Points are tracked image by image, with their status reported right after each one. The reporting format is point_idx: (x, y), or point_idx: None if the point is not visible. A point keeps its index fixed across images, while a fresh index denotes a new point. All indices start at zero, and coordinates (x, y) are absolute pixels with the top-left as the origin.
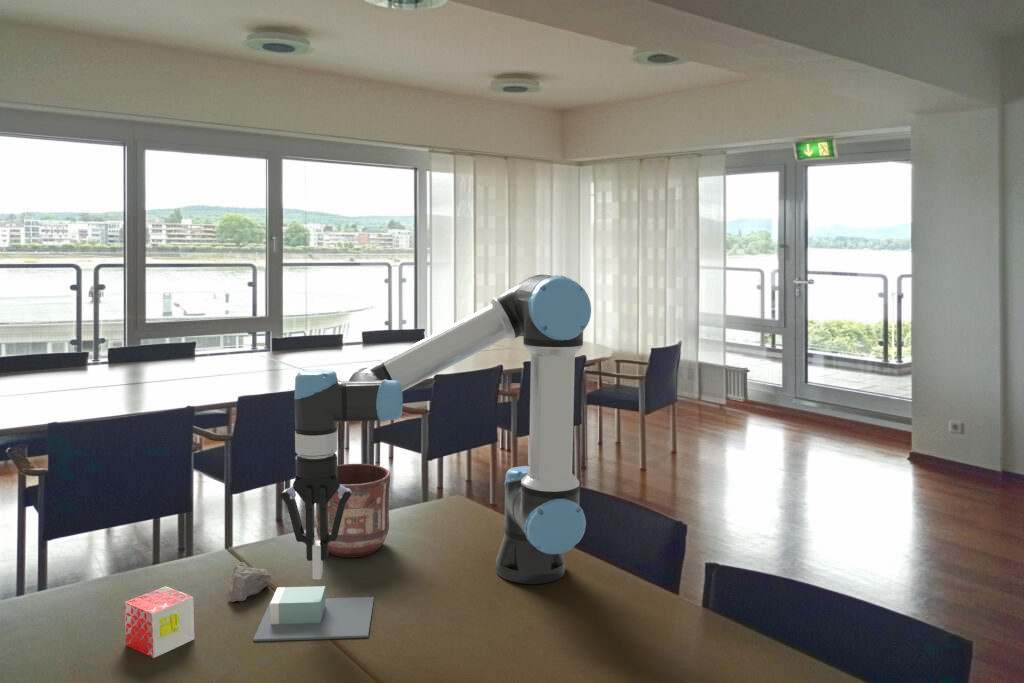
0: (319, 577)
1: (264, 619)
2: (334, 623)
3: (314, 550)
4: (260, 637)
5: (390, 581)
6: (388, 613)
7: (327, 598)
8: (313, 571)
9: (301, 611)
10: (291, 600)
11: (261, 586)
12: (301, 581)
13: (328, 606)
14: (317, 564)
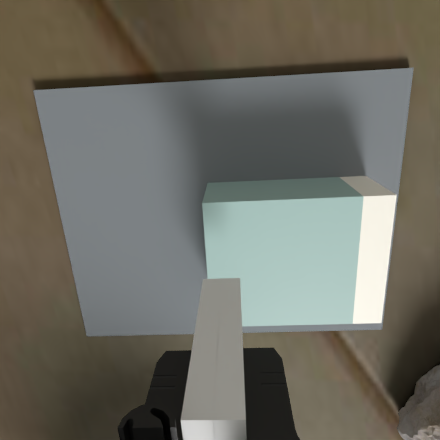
0: (208, 283)
1: None
2: (162, 176)
3: (228, 387)
4: (389, 80)
5: (72, 421)
6: (22, 248)
7: None
8: (236, 298)
9: (271, 191)
10: (315, 219)
11: (419, 397)
12: (309, 430)
13: None
14: (213, 323)
